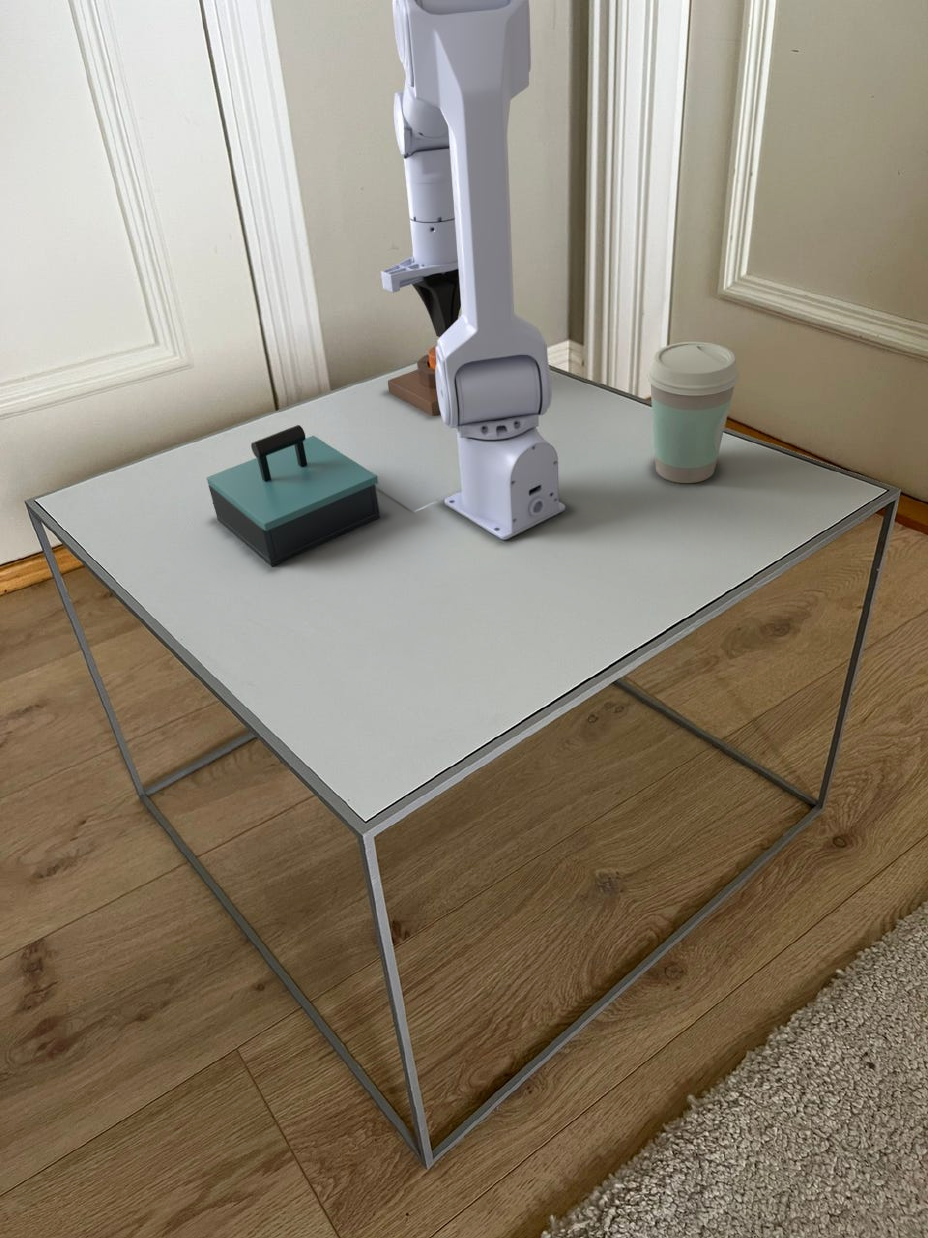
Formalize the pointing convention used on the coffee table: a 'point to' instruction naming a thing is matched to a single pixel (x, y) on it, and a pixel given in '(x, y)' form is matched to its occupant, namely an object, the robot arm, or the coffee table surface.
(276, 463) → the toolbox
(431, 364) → the button
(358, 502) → the open-top box
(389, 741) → the coffee table surface
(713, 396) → the coffee cup
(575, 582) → the coffee table surface
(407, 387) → the block
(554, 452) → the robot arm
